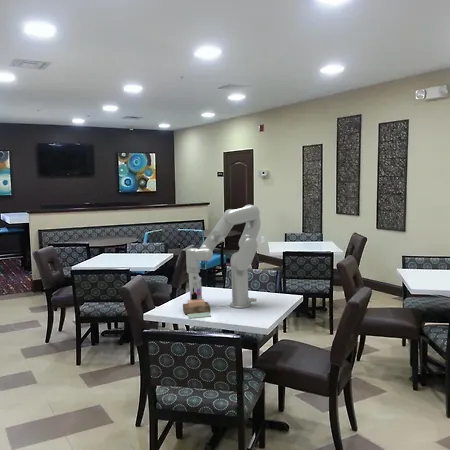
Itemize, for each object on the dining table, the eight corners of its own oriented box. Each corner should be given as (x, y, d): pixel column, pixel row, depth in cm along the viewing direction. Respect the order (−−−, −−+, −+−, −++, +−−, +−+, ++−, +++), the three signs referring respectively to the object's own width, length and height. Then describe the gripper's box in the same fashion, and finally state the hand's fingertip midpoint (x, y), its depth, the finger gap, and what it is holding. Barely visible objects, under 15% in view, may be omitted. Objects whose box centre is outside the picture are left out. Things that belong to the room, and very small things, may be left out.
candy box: (202, 305, 280) (201, 278, 278) (192, 306, 278) (191, 278, 277) (199, 299, 293) (198, 273, 292) (189, 300, 292) (188, 274, 290)
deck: (207, 308, 272) (206, 301, 272) (210, 312, 263) (209, 305, 263) (183, 310, 269) (182, 303, 269) (185, 314, 260) (185, 307, 260)
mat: (208, 313, 263) (208, 312, 263) (211, 316, 255) (211, 315, 255) (187, 315, 260) (187, 314, 260) (189, 318, 253) (189, 317, 253)
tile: (203, 303, 269) (203, 298, 269) (205, 305, 263) (205, 301, 263) (187, 304, 267) (187, 300, 267) (189, 307, 261) (189, 302, 261)
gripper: (201, 271, 264) (202, 303, 266) (197, 266, 278) (198, 297, 280) (188, 272, 262) (189, 304, 264) (185, 267, 277) (186, 298, 279)
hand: (194, 300), depth 272 cm, fingers closed
